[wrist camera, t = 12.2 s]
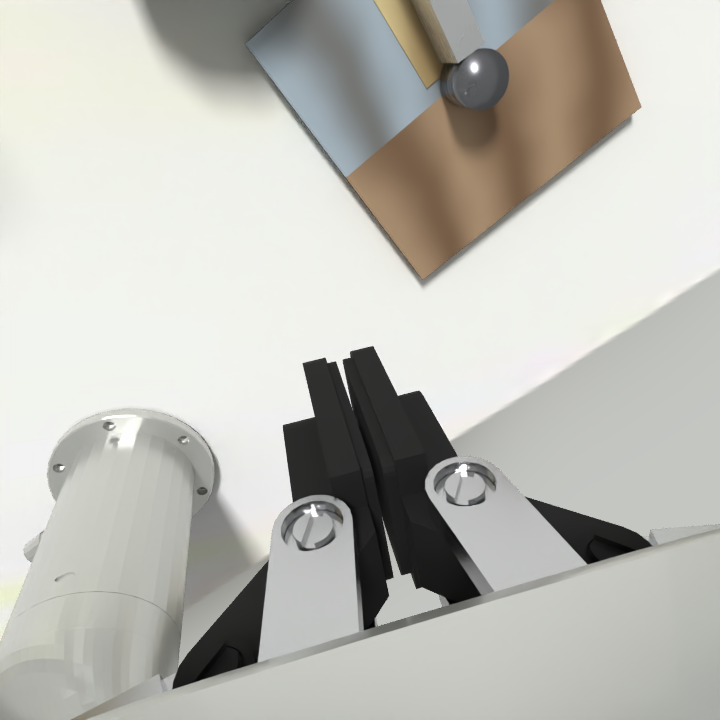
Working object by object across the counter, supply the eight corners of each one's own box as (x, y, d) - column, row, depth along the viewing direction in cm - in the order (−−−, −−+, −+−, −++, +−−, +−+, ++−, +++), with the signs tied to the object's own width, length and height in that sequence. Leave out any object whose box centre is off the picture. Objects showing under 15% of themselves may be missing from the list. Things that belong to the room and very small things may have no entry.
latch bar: (496, 86, 34) (517, 89, 32) (454, 117, 35) (471, 121, 32) (417, -98, 29) (434, -113, 26) (368, -59, 29) (381, -71, 27)
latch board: (418, 274, 41) (423, 280, 40) (245, 44, 32) (245, 44, 31) (630, 105, 38) (642, 107, 37) (509, -202, 29) (520, -213, 28)
